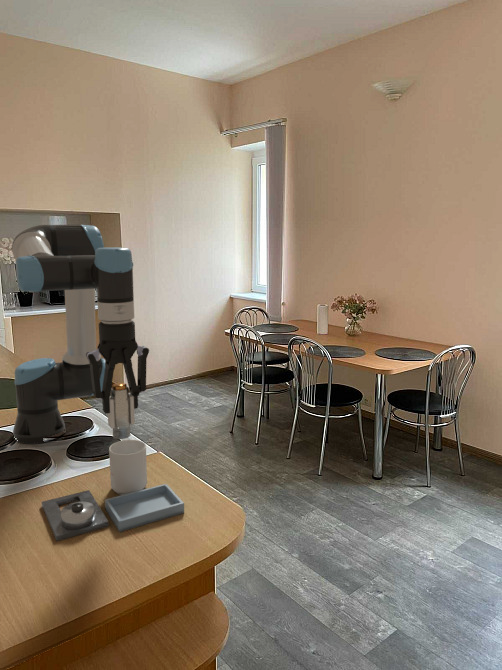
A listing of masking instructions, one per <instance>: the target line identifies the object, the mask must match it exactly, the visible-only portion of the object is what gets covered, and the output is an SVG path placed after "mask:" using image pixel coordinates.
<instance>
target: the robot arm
mask: <svg viewBox="0 0 502 670" xmlns="http://www.w3.org/2000/svg"><path fill="white" fill-rule="evenodd" d="M11 251H12V256H13V257H14V259H15V273H16V283H17V288H18V289H19V290H20V291H21V292H32V293H33V292H34V293H39V292H50V291H53V292H55V291H64V304H65V305H64V309H65V329H66V330H65V331H66V351H65V353H64V354H63V355H62V358H61V359H62V360H61V362H56V361H55V359H54V358H52V357H51V358H50V357H41V358H35V359H32V360H28V361H25V362H23V363H21V364H19V365H18V366H17V367H16V368H15V370H14V380H13V381H14V382H13V383H14V385H15V395H16V409H17V414H16V418H15V421H14V425H13V430H12V436H13V435H14V436H15V437H16V438H17V440H18V443H21V444H28V445H30V444H42V442H44V441H43V438H44V437H47V436H52V435H55V434H58V433H60V432H62V431H63V430H64V429H65V430H66V424H65V421H64V419H63V416H62V413H61V412H60V410H59V406H58V405H59V404H58V401H62V400H63V401H64V400H71V399H78V398H80V399H81V398H86V397H87V398H91V397H92V396H93V397H95V398H97V399H101V400H102V401H101V403H102V411H103V412H104V414H106V415H107V425H108V426H109V428H110V429H112V430H113V428H115V420H114V400H113V399H112V398H111V388H112V385H113V378H114V371H115V369H116V365H118V364H122V365H123V368H124V372H125V373H124V374H125V377H126V381H127V385H128V386H127V387H128V388H129V412H130V426H132V425H133V426H134V425H135V410H136V409H138V407H139V396H140V393H142V392H145V391H146V390H147V358H148V355H149V353H150V349H149V348H148V347H146V346H145V345H142V346H141V345H139V344H138V342H137V340H136V322H135V321H134V319H135V301H134V272H133V269H134V262H133V256H132V250H131V249H130V248H128V247H119V246H118V247H116V246H115V247H105V243H104V240H103V237H102V234H101V231H100V229H99V228H98V227H97V226H95V225H88V224H39V225H35V226H31V227H29V228H26V229H24V230H22V231H21V232H19V233H18V234H17V235H16V236H15V238H13V240H12V245H11ZM95 296H97V316H98V317H97V319H98V320H99V321H100V322H99V323H98V336H99V337H98V339H99V340H98V341H99V342H98V344H97V336H96V335H97V331H96V329H97V328H96V297H95ZM135 353H136V354H137V378H136V377H135V372H134V369H133V362H132V358H133V356H134V355H135ZM102 357H103V358H102ZM136 379H137V381H136ZM44 443H45V442H44Z"/></svg>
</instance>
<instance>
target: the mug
mask: <svg viewBox="0 0 502 670" xmlns="http://www.w3.org/2000/svg"><path fill="white" fill-rule="evenodd" d="M108 452H109V453H108V456H109V473H110V474H109V476H110V478H109V479H110V487H111V490H113V491H114V493H116V494H118V495H119V496H121V495H124V494H128V493H132V492H136V491H140V490H144V489H146V487H147V484H148V473H147V471H148V469H147V444H146V443H145V442H144V441H142V440H138V439H125V440H124V439H122V440H119V441H115V442H114V443H112V444H111V445H110V446H109V448H108Z"/></svg>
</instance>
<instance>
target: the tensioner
mask: <svg viewBox="0 0 502 670" xmlns="http://www.w3.org/2000/svg"><path fill="white" fill-rule="evenodd" d="M66 504H67V505H66ZM62 505H65V506H64V507H62V508H60V507H59V506H62ZM41 508H42V510H43V512H44V515H45V517H46V520H47V522H48V524H49V527H50V530H51V532H52V533H53V537H54V538H55V541H56V542H59V541H63V540H66V539H70V538H73V537H76V536H80V535H84V534H86V533H90V532H94V531H97V530H101V529H105V528H108V527H109V526H110V525H109V520H108V519H107V517H106V515H105V514H104V512H103V510H102V509H101V507H100V505H99V504H98V501H96V499H95V498H94V496H93V493H92V492H91V491H90V490H89V489H87V490H83V491H80V492H76V493H72V494H67V495H64V496H59V497H56V498H52V499H47V500H43V501H41Z"/></svg>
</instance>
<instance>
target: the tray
mask: <svg viewBox="0 0 502 670" xmlns="http://www.w3.org/2000/svg"><path fill="white" fill-rule="evenodd" d="M104 506H105V507H104V508H105V512H106V513H107V514H108V516H109V517H110V519H111V521H112V522H113V524H114V525H115V527H116V528H117V530H118V532H119V533H122V532H125V531H127V530H132V529H134V528H138V527H141V526H144V525H149V524H152V523H155V522H158V521H161V520H166V519H169V518H172V517H175V516H179V515H182V514H185V502H184V501H183V500H182V499H181V498H180V496H178V495H177V493H175V491H174V490H173V489H172V488H171V487H170V486H169V485H168V484H167V483H164V484H159V485H156V486H152V487H148V488H144V489H143V490H140V491H136V492H132V493H128V494H124V495H118V496H113V497H110V498H106V499H105V498H104Z"/></svg>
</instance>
